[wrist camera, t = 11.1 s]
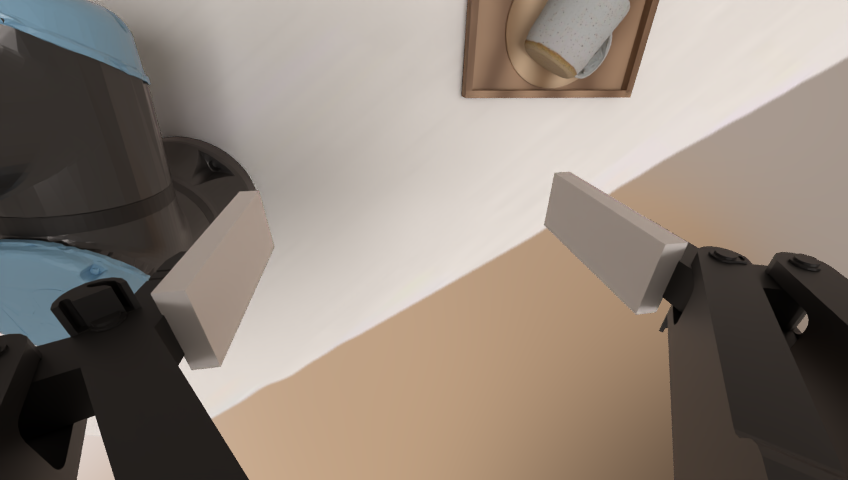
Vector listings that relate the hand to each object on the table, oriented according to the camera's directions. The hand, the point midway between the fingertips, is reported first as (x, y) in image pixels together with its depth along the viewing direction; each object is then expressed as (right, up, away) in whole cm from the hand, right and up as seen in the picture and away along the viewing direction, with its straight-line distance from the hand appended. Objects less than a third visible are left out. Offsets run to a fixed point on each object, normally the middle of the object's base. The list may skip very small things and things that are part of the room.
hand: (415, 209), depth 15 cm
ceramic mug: (+17, +23, +24) cm, 37 cm away
